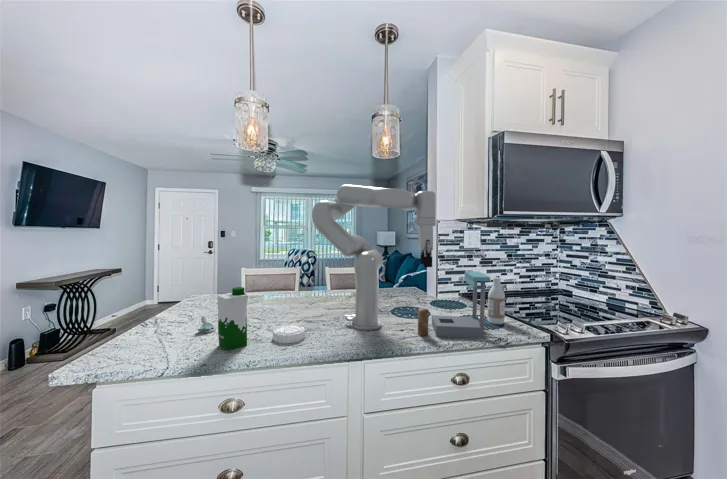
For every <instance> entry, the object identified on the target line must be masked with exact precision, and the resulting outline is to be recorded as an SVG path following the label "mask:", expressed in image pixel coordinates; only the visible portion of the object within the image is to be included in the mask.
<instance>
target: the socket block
mask: <svg viewBox="0 0 727 479" xmlns="http://www.w3.org/2000/svg"><path fill="white" fill-rule="evenodd" d="M472 317H473V316H461V315H460V316H457V315H456V316H455V315H434V314H432V315H431V326H432V328H433V331H434V334H435V336H436V337H450V338H451V337H452V338H455V337H456V338H473V339H474V338H475V339H476V338H478V339H485V326H484V327H480V320H478V318H476V319H474V318H472Z"/></svg>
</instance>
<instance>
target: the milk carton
mask: <svg viewBox="0 0 727 479" xmlns="http://www.w3.org/2000/svg"><path fill="white" fill-rule="evenodd" d="M231 291H232V292H230V293H229V292H227V293H224V294H218V295H216V296H217V332H218V333H217V334H218V336H217V337H218V345H219V346H220V347H221V348H222V349H223V350H225V351H231V349H232V350H234V349H235V350H236V349H238V348H242V347H246V346H248V314H247V313H248V300H249V295H248V294H246V293H245V287H243V286H240V287H239V286H237V287H233V288H232V290H231Z"/></svg>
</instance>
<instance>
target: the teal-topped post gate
mask: <svg viewBox="0 0 727 479" xmlns="http://www.w3.org/2000/svg"><path fill="white" fill-rule="evenodd" d="M464 281H465V283H468V285H470V286H471V287H472V316H471V317H472V318H474V319H478V318H477V316H478V315H477V310H478V309H477V306H478V282H480V302H479V304H480V305H479V322H480V327H484V328H485V309H486V308H485V306H486V282H491V277H490V276H489V275H486V274H485V273H483V272H482V271H471V270H465V271H464Z"/></svg>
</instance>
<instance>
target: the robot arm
mask: <svg viewBox="0 0 727 479" xmlns="http://www.w3.org/2000/svg"><path fill="white" fill-rule="evenodd" d="M436 201H437V200H436V193H435V192H434V191H431V190H421V191H418V192H416V193H415V192H410V191H409V190H406V189H401V188H400V189H399V188H391V187H390V188H389V187H387V188H386V187H377V186H367V185H357V184H343V185H340V186H339V187H338V188H337V191H336V198H335V199H334V200H333V201H330V200H324V199H323V200H320V201H318V202H316V203H315V204H314V206H313V208H312V211H311V219H312V224H313V225H314V227H315V229H316V230H317V232H319V234H321V236H323V237H324V238H325V239H326V240H327V241H328V242H329V244H331V245H332V246H333V247H334V248H335V249H337V250H338V252H339V253H340V254H342V255H343V256H344V257H347V258H350V257H351V258H352V257H354V258H355V260H354V263H353V265H354V266H353V267H354V268H353V269H354V270H353V271H354V275H355V278H354V279H355V280H354V281H355V313H354V314H352V315H350V314H345V318H344V319H345V320H346V321H347V322H351V321H352V322H351V326H352V327H353V328H354V329H356V330H362V331H375V330H377V329H380V328H381V327H382V322H381V321H380V320H379V308H378V307H379V278H378V270H380V268H381V267H382V265H383V263H384V258H383V256H382V254H381V253H380V252H379V251H378V250H377V249H376V248H375V247H374V246H372V244H370V243H369V241H367V240H366V239H365V238H364V237H362V236H360V235H358V234H351V233H350V232H348V230H346V229H345V228H344V227H343V226H342V225H341V224H339V223H338V222H337V220H340V219H341V218H342V217H343V216H345V215H347V213H349V212H350V211H352V210H353V209H355V207H365V208H389V209H396V210H402V211H405V212H410V211H415V210H416V212H415V213H416V221H415V222H416V227H418V232H417V233H418V236H417V237H418V238H417V239H418V240H417V250H418V251H419V252H420V264H421V265H423V267H424V268H433V253H432V251H433V250H434V227H436V223H437V222H436V220H437V218H436V213H437V212H436V211H437V210H436V208H437V207H436V206H437V204H436V203H437V202H436Z"/></svg>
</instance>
